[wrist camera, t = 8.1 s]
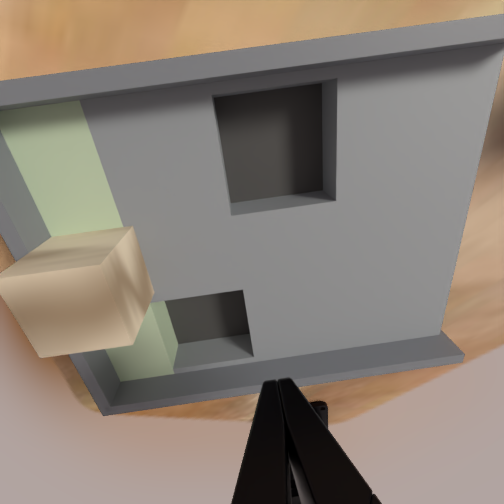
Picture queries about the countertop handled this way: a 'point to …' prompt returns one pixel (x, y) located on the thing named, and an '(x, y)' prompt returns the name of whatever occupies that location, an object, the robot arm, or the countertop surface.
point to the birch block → (80, 292)
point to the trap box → (263, 202)
